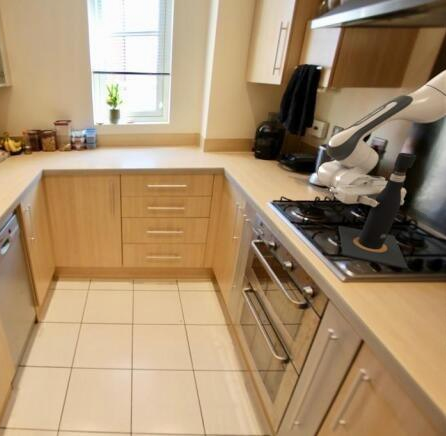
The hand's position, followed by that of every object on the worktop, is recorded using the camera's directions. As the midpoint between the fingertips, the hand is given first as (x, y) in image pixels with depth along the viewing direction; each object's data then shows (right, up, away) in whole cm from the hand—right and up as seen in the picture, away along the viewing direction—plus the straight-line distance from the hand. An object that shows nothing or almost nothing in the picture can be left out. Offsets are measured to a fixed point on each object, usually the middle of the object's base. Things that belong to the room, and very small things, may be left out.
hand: (389, 203), depth 95 cm
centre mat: (0, -13, +8) cm, 16 cm away
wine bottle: (0, -13, +8) cm, 15 cm away
